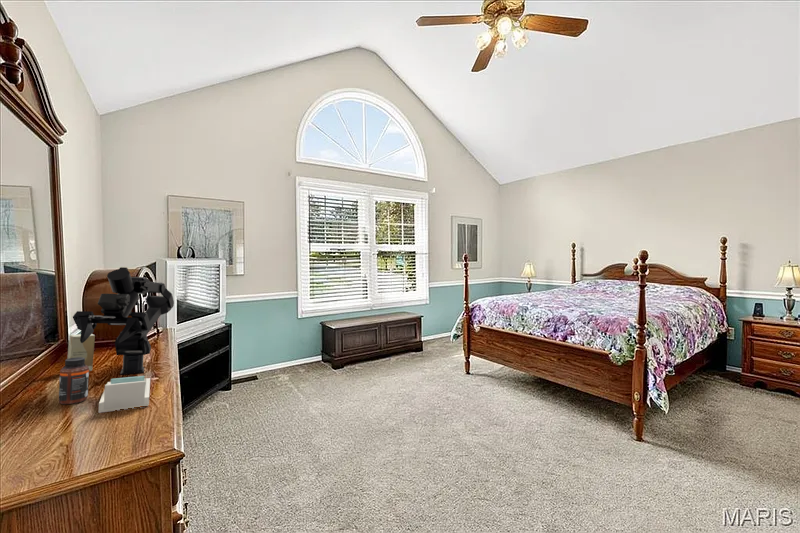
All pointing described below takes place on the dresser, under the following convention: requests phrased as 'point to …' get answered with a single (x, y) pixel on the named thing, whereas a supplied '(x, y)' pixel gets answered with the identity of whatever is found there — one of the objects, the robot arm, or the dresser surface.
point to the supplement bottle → (73, 381)
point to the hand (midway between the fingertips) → (99, 341)
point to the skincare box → (82, 349)
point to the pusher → (127, 379)
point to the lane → (125, 395)
